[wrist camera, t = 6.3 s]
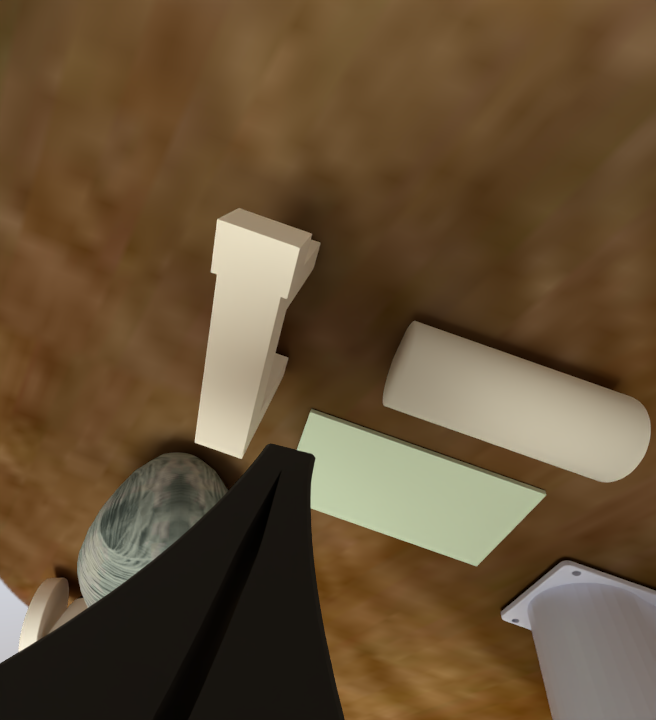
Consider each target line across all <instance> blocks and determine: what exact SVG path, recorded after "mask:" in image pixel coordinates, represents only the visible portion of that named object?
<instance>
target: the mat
mask: <svg viewBox="0 0 656 720" xmlns="http://www.w3.org/2000/svg"><path fill="white" fill-rule="evenodd" d="M297 450H299V451H303V452H307V453H311V454H313V455H314V457H315V463H314V469H313V474H312V480H311V508H312V509H314V510H317V511H320V512H323V513H326V514H329V515H332V516H334V517H337V518H340V519H343V520H346V521H349V522H352V523H354V524H357V525H360V526H363V527H366V528H369V529H372V530H374V531H377V532H380V533H383V534H386V535H389V536H392V537H394V538H397V539H400V540H403V541H406V542H409V543H412V544H414V545H417V546H420V547H423V548H426V549H429V550H431V551H434V552H437V553H440V554H443V555H446V556H449V557H451V558H454V559H457V560H460V561H463V562H466V563H469V564H471V565H474V566H478V565H479V563H480V562H481V561H482V560H483V559H484V558H485V557H486V556H487V555H488V554H489V553H490V552H491V551H492V550H493V549H494V548H495V547H496V546H497V545H498V544H499V543H500V542H501V541H502V540H503V539H504V538H505V537H506V536H507V535H508V534H509V533H510V532H511V531H512V530H513V529H514V528H515V527H516V526H517V525H518V524H519V523H520V522H521V521H522V520H523V519H524V518H525V516H526V515H527V514H528V513H529V512H530V511H531V510H532V509H533V508H534V507H535V506H536V505H537V504H538V503H539V502H540V501H541V500H542V499H543V498H544V497H545V496H546V492H545V490H542V489H539V488H536V487H533V486H530V485H527V484H525V483H522V482H519V481H516V480H513V479H510V478H507V477H505V476H502V475H499V474H496V473H493V472H490V471H488V470H485V469H482V468H479V467H476V466H473V465H470V464H468V463H465V462H462V461H459V460H456V459H453V458H450V457H448V456H445V455H442V454H439V453H436V452H433V451H431V450H428V449H425V448H422V447H419V446H416V445H413V444H411V443H408V442H405V441H402V440H399V439H396V438H393V437H391V436H388V435H385V434H382V433H379V432H376V431H374V430H371V429H368V428H365V427H362V426H359V425H356V424H354V423H351V422H348V421H345V420H342V419H339V418H336V417H334V416H331V415H328V414H325V413H322V412H319V411H317V410H314V409H311V411H310V414H309V417H308V420H307V422H306V425H305V428H304V431H303V434H302V437H301V439H300V442H299V445H298V448H297Z"/></svg>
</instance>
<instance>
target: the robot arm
mask: <svg viewBox="0 0 656 720" xmlns="http://www.w3.org/2000/svg"><path fill="white" fill-rule="evenodd" d="M314 463H315V457H314V455H313V454H311V453H307V452H303V451H299V450H295V449H291V448H287V447H283V446H279V445H275V444H271V443H270V444H268V445H266V447H265V448H264V449H263V451H262V452H261V454H260V455H259V456H258V457H257V459H256V460H255V461H254V462H253V464H252V465H251V466H250V467H249V468H248V470H247V471H246V472H245V473H244V474H243V475H242V477H241V478H240V479H239V480H238V481H237V482H236V483H235V484H234V485H233V486H232V487H231V488H230V490H229V491H228V492H227V493H226V494H225V495H224V496H223V497H222V498H221V499H220V500H219V501H218V502H217V503H216V504H215V505H214V506H213V507H212V508H211V509H210V510H209V511H208V512H207V513H206V514H205V515H204V516H203V517H202V518H201V519H200V520H199V521H197V522H196V523H195V524H194V525H193V526H192V527H191V528H190V529H189V530H188V531H187V532H186V533H184V534H183V535H182V536H181V537H180V538H179V539H178V540H177V541H175V542H174V543H173V544H172V545H171V546H169V547H168V548H167V549H166V550H165V551H163V552H162V553H161V554H160V555H159V556H157V557H156V558H155V559H154V560H152V561H151V562H150V563H149V564H147V565H146V566H145V567H143V568H142V569H141V570H140V571H138V572H137V573H136V574H134V575H133V576H132V577H131V578H129V579H128V580H127V581H125V582H124V583H122V584H121V585H120V586H118V587H117V588H116V589H114V590H113V591H112V592H110V593H109V594H107V595H106V596H104V597H103V598H101V599H100V600H98V601H97V602H96V603H94V604H93V605H91V606H90V607H88V608H87V609H85V610H84V611H82V612H81V613H79V614H78V615H77V616H75V617H74V618H72V619H71V620H69V621H68V622H66V623H65V624H63V625H62V626H60V627H59V628H57V629H55V630H54V631H52V632H51V633H49V634H48V635H46V636H44V637H43V638H41V639H39V640H38V641H36V642H35V643H33V644H31V645H30V646H28V647H26V648H25V649H23V650H21V651H20V652H18V653H17V654H15V655H13V656H12V657H10V658H8V659H7V660H5V661H4V662H2V663H0V720H345V719H344V715H343V711H342V707H341V703H340V699H339V695H338V691H337V687H336V683H335V678H334V674H333V669H332V664H331V660H330V655H329V650H328V646H327V641H326V636H325V631H324V626H323V620H322V614H321V609H320V603H319V596H318V590H317V583H316V575H315V567H314V557H313V546H312V533H311V480H312V474H313V469H314ZM501 617H502V619H503V620H504V621H507V622H509V623H512V624H515V625H518V626H521V627H524V628H527V629H529V630H532V634H533V638H534V642H535V647H536V651H537V655H538V659H539V663H540V668H541V672H542V676H543V680H544V685H545V689H546V693H547V697H548V702H549V706H550V710H551V714H552V718H553V720H656V591H655V590H652V589H649V588H647V587H644V586H641V585H638V584H635V583H632V582H629V581H627V580H624V579H621V578H618V577H615V576H612V575H610V574H607V573H604V572H601V571H598V570H595V569H592V568H590V567H587V566H584V565H581V564H578V563H575V562H572V561H569V560H565V561H562V562H560V563H559V564H557V565H556V566H555V567H554V568H553V569H551V570H550V571H549V572H548V573H547V574H545V575H544V576H543V577H542V578H541V579H539V580H538V581H537V582H536V583H535V584H533V585H532V586H531V587H530V588H529V589H527V590H526V591H525V592H524V593H523V594H521V595H520V596H519V597H518V598H517V599H515V600H514V601H513V602H512V603H511V604H509V605H508V606H507V607H506V608H505V609H503V610H502V611H501Z"/></svg>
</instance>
